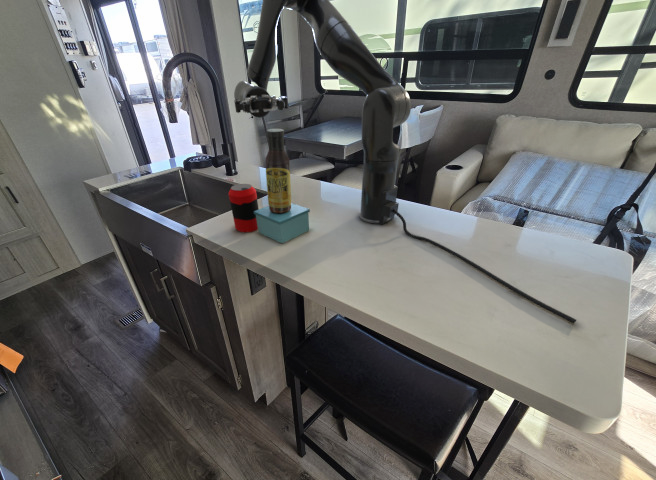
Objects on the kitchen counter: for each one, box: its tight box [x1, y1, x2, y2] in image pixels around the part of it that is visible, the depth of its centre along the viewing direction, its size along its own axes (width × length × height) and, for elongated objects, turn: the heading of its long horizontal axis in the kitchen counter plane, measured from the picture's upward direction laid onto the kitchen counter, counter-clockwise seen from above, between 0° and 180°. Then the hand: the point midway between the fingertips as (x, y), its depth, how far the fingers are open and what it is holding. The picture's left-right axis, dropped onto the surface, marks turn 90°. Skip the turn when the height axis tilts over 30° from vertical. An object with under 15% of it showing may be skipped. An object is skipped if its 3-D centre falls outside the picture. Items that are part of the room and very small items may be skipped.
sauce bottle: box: [265, 128, 292, 213], centre depth 79 cm, size 6×6×20 cm
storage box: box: [254, 202, 311, 244], centre depth 87 cm, size 11×11×6 cm
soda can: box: [228, 183, 260, 233], centre depth 89 cm, size 8×8×12 cm
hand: (264, 106), depth 79 cm, fingers open, 8 cm apart
